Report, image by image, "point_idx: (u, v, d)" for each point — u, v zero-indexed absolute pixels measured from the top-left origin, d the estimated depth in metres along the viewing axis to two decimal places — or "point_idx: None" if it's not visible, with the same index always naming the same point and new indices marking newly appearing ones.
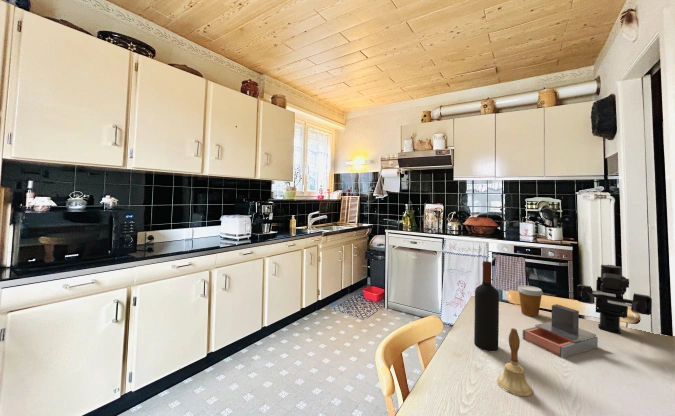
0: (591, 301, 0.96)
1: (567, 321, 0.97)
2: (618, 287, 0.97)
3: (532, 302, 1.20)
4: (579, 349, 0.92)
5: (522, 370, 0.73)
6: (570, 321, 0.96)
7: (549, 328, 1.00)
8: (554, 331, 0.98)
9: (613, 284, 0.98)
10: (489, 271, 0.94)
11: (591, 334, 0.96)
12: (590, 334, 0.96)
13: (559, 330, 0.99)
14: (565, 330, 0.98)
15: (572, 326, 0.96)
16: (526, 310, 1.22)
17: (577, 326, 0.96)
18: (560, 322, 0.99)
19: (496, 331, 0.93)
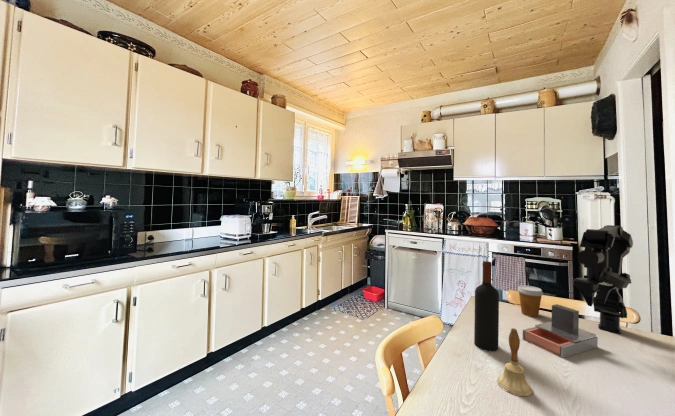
0: (587, 302, 1.00)
1: (567, 321, 0.97)
2: None
3: (532, 302, 1.20)
4: (579, 349, 0.92)
5: (522, 370, 0.73)
6: (570, 321, 0.96)
7: (549, 328, 1.00)
8: (554, 331, 0.98)
9: None
10: (489, 271, 0.94)
11: (591, 334, 0.96)
12: (590, 334, 0.96)
13: (559, 330, 0.99)
14: (565, 330, 0.98)
15: (572, 326, 0.96)
16: (526, 310, 1.22)
17: (577, 326, 0.96)
18: (560, 322, 0.99)
19: (496, 331, 0.93)
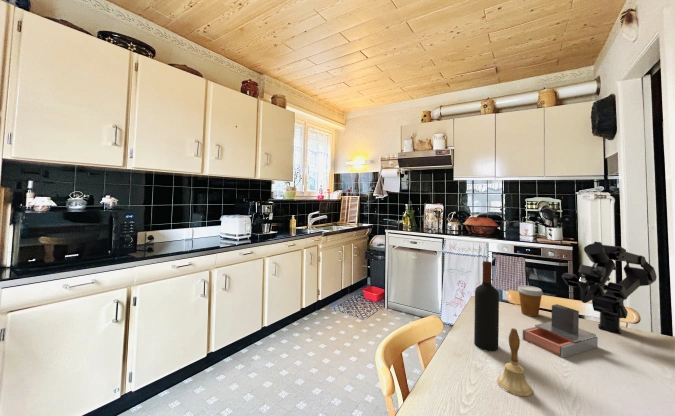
0: None
1: (567, 321, 0.97)
2: (595, 276, 1.03)
3: (532, 302, 1.20)
4: (579, 349, 0.92)
5: (522, 370, 0.73)
6: (570, 321, 0.96)
7: (549, 328, 1.00)
8: (554, 331, 0.98)
9: (590, 275, 1.04)
10: (489, 271, 0.94)
11: (591, 334, 0.96)
12: (590, 334, 0.96)
13: (559, 330, 0.99)
14: (565, 330, 0.98)
15: (572, 326, 0.96)
16: (526, 310, 1.22)
17: (577, 326, 0.96)
18: (560, 322, 0.99)
19: (496, 331, 0.93)
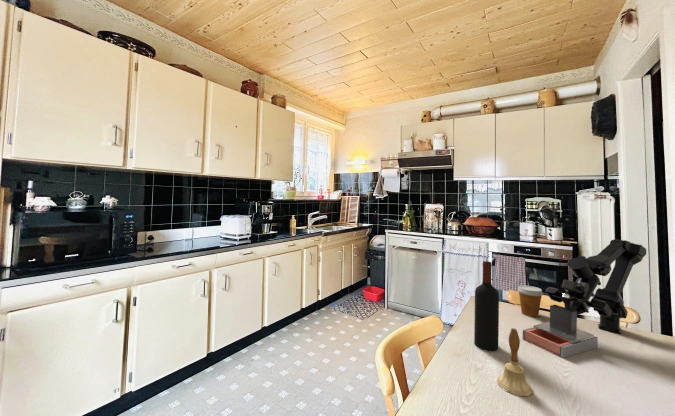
0: None
1: (566, 321, 0.97)
2: (578, 292, 0.99)
3: (532, 301, 1.20)
4: (579, 349, 0.92)
5: (522, 370, 0.73)
6: (568, 321, 0.96)
7: (548, 329, 1.00)
8: (552, 331, 0.97)
9: (573, 290, 1.00)
10: (489, 271, 0.94)
11: (589, 335, 0.95)
12: (588, 334, 0.96)
13: (557, 330, 0.98)
14: (563, 330, 0.97)
15: (570, 326, 0.95)
16: (526, 310, 1.22)
17: (575, 326, 0.96)
18: (558, 322, 0.99)
19: (496, 331, 0.93)
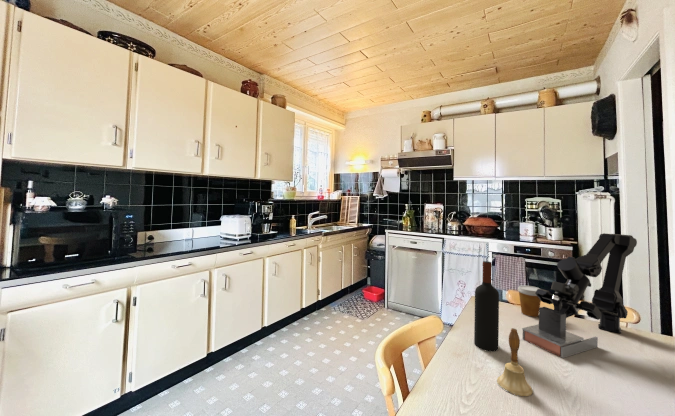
0: None
1: (555, 324, 0.94)
2: (568, 294, 0.97)
3: (532, 301, 1.20)
4: (579, 349, 0.92)
5: (522, 370, 0.73)
6: (557, 324, 0.94)
7: (537, 331, 0.98)
8: (541, 334, 0.95)
9: (562, 292, 0.98)
10: (489, 271, 0.94)
11: (579, 337, 0.93)
12: (577, 337, 0.93)
13: (546, 333, 0.96)
14: (552, 333, 0.95)
15: (559, 329, 0.93)
16: (526, 310, 1.22)
17: (564, 329, 0.94)
18: (547, 325, 0.97)
19: (496, 331, 0.93)
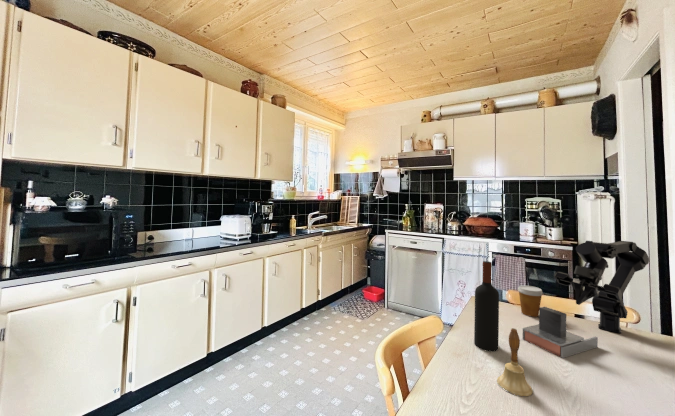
0: None
1: (555, 324, 0.94)
2: (591, 278, 1.00)
3: (532, 302, 1.20)
4: (579, 349, 0.92)
5: (522, 370, 0.73)
6: (558, 324, 0.94)
7: (537, 331, 0.98)
8: (541, 334, 0.95)
9: (585, 276, 1.01)
10: (489, 271, 0.94)
11: (579, 337, 0.93)
12: (578, 337, 0.93)
13: (546, 333, 0.96)
14: (552, 333, 0.95)
15: (559, 329, 0.93)
16: (526, 310, 1.22)
17: (564, 329, 0.94)
18: (548, 325, 0.97)
19: (496, 331, 0.93)
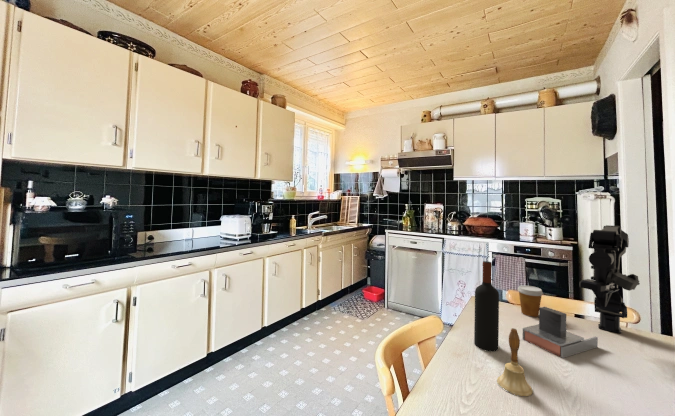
0: (600, 302, 1.00)
1: (555, 324, 0.94)
2: None
3: (532, 302, 1.20)
4: (579, 349, 0.92)
5: (522, 370, 0.73)
6: (558, 324, 0.94)
7: (537, 331, 0.98)
8: (541, 334, 0.95)
9: None
10: (489, 271, 0.94)
11: (579, 337, 0.93)
12: (578, 337, 0.93)
13: (546, 333, 0.96)
14: (552, 333, 0.95)
15: (559, 329, 0.93)
16: (526, 310, 1.22)
17: (564, 329, 0.94)
18: (548, 325, 0.97)
19: (496, 331, 0.93)
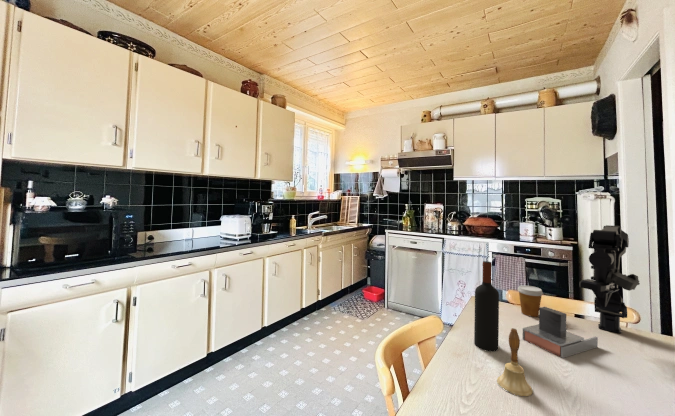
0: (600, 302, 1.00)
1: (555, 324, 0.94)
2: None
3: (532, 302, 1.20)
4: (579, 349, 0.92)
5: (522, 370, 0.73)
6: (558, 324, 0.94)
7: (537, 331, 0.98)
8: (541, 334, 0.95)
9: None
10: (489, 271, 0.94)
11: (579, 337, 0.93)
12: (578, 337, 0.93)
13: (546, 333, 0.96)
14: (552, 333, 0.95)
15: (559, 329, 0.93)
16: (526, 310, 1.22)
17: (564, 329, 0.94)
18: (548, 325, 0.97)
19: (496, 331, 0.93)
